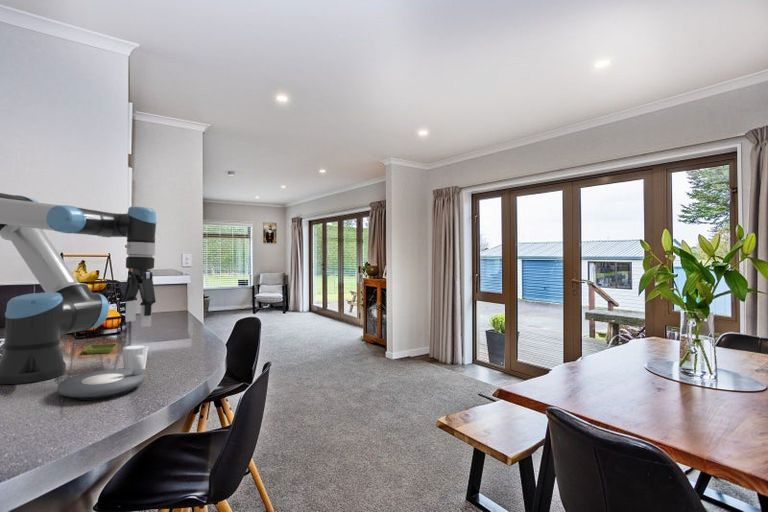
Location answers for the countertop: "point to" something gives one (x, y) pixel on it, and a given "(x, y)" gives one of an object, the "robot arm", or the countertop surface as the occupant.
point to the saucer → (100, 348)
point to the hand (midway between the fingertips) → (137, 323)
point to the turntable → (103, 381)
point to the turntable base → (101, 396)
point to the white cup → (133, 351)
